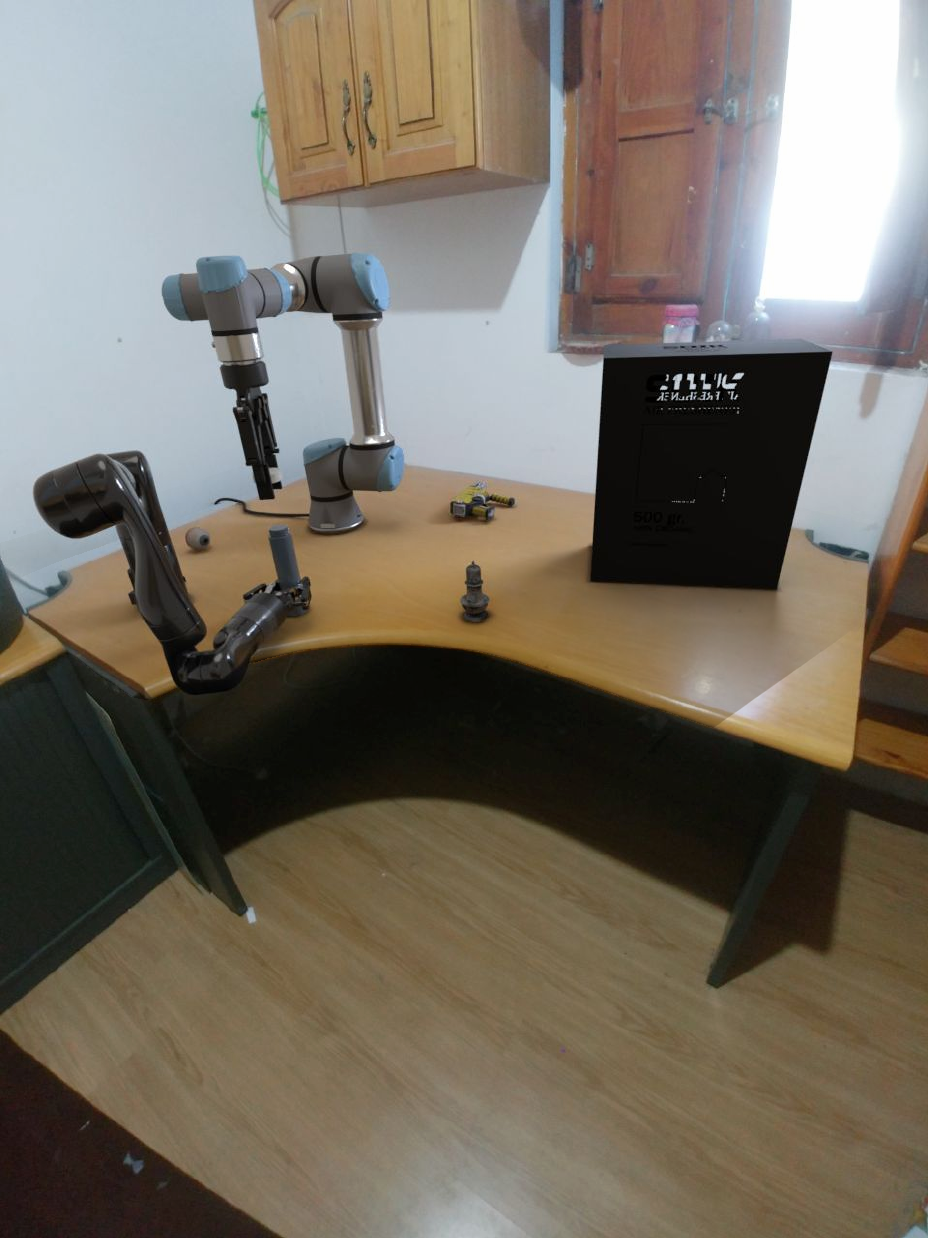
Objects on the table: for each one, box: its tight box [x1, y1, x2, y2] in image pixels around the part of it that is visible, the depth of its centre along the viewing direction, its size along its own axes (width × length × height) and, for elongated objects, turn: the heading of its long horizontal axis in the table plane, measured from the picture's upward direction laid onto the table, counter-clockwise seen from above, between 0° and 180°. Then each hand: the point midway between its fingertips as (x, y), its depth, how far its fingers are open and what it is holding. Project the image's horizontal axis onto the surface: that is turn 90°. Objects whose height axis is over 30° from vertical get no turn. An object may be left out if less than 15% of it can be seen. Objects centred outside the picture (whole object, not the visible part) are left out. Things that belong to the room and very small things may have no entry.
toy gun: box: [449, 480, 516, 522], centre depth 174 cm, size 5×24×15 cm
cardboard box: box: [589, 338, 834, 590], centre depth 125 cm, size 38×20×45 cm, turn 78°
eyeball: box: [184, 526, 211, 551], centre depth 157 cm, size 6×6×6 cm
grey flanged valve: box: [459, 560, 491, 623], centre depth 118 cm, size 6×6×12 cm
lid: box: [251, 467, 283, 485], centre depth 112 cm, size 5×5×2 cm
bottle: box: [267, 523, 308, 617], centre depth 122 cm, size 4×4×19 cm
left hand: (296, 580), depth 126 cm, fingers closed on bottle, 4 cm apart
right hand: (271, 493), depth 114 cm, fingers closed on lid, 5 cm apart
